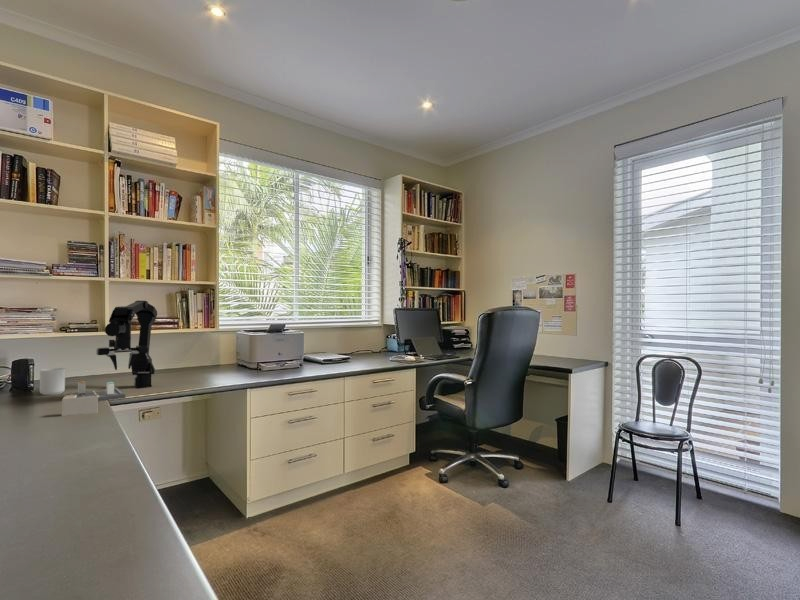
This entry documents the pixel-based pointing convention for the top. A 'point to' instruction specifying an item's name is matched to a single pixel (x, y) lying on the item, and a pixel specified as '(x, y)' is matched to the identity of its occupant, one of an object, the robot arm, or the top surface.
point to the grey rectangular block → (81, 387)
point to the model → (79, 405)
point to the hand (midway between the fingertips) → (122, 369)
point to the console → (100, 394)
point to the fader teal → (109, 388)
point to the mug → (52, 381)
